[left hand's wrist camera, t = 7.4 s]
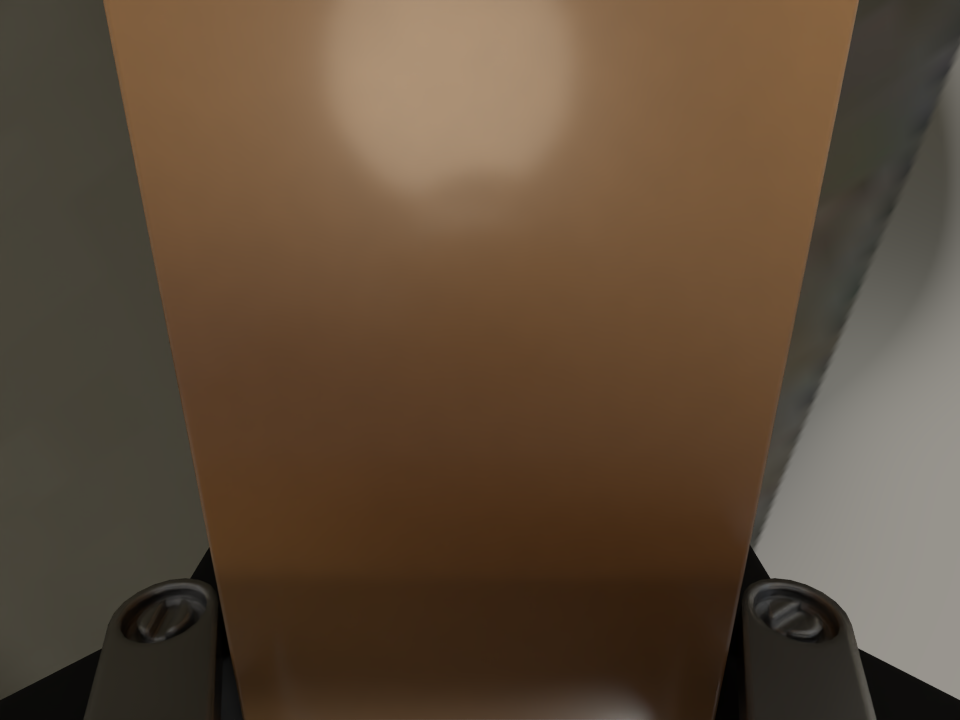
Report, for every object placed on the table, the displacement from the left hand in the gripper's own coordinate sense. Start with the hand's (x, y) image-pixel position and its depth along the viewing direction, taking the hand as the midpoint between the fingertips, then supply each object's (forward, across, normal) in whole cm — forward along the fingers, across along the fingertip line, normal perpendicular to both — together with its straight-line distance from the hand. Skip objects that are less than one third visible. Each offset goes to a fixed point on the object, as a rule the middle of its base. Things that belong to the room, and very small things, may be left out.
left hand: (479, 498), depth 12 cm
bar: (+3, 0, -27) cm, 27 cm away
